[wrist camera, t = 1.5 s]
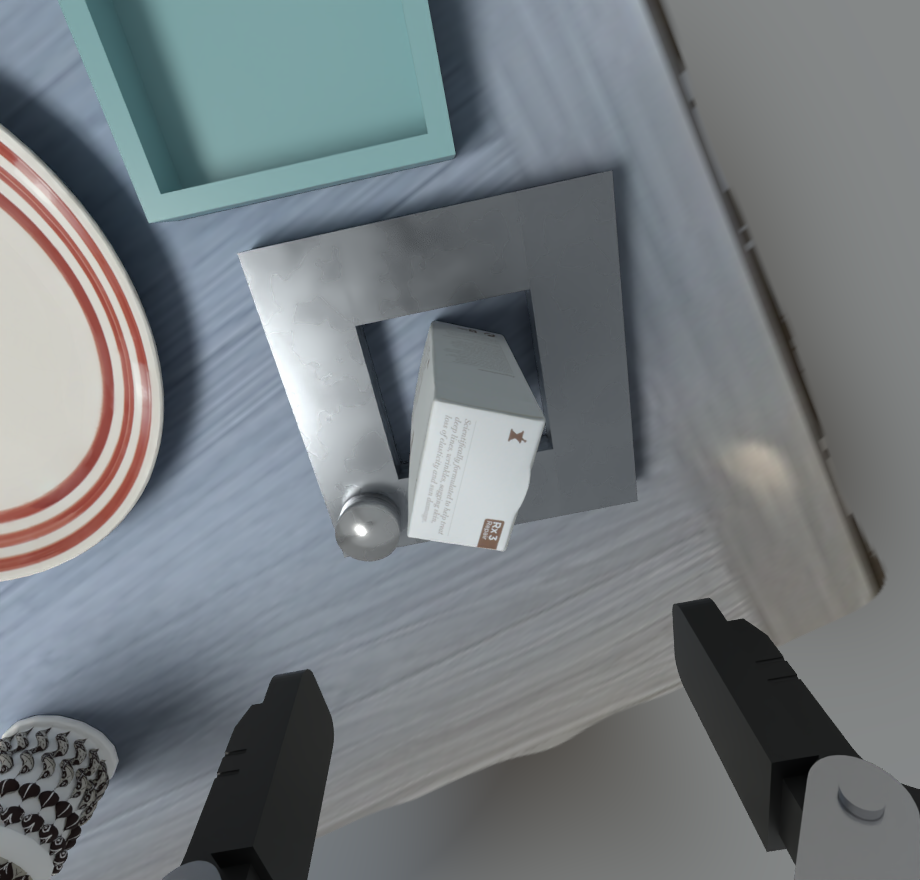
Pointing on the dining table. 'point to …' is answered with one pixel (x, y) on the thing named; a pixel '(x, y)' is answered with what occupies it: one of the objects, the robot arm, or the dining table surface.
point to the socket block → (441, 285)
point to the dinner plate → (67, 374)
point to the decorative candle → (48, 791)
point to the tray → (261, 95)
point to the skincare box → (470, 439)
